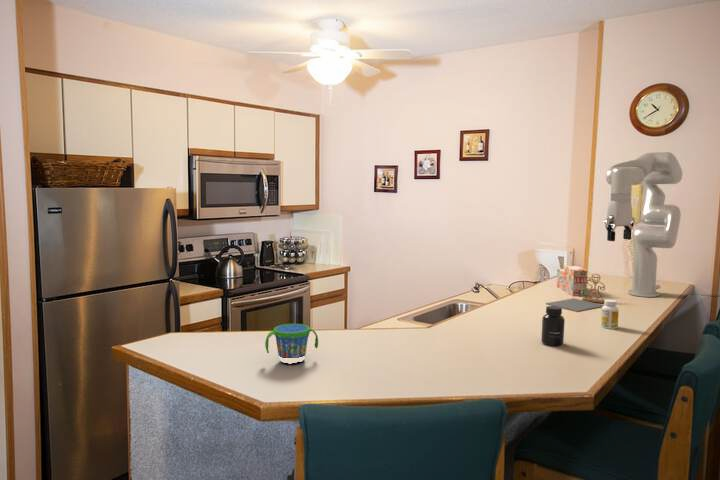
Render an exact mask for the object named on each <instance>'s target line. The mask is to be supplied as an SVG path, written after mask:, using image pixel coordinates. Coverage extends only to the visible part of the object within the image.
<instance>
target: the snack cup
mask: <svg viewBox="0 0 720 480" xmlns="http://www.w3.org/2000/svg"><path fill="white" fill-rule="evenodd" d="M310 332H312V333H313V335H315V339H314V348H315V349H318V347H319V337H318V334H317V332H316V331H315V330H314V329H312V327H310V326H308V325H307V324H302V323H287V324H286V323H284V324H280V325H278V326H275V327H274V328H273V330H271V331H270V332H269V333H268V334H267V336H266V339H265V341H264V345H265V349H266V352H267V354H269V353H270V351H269V343H270V342H269V339H270V338H271V337H272V336H273V335H274V337H275V341H276V349H277V354H278V357H279V356H280V357H282V358H299V357H303V356H305V355H307V349H308V348H307V347H308V339H309V336H310ZM305 357H306V356H305Z"/></svg>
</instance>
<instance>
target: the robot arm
mask: <svg viewBox="0 0 720 480" xmlns="http://www.w3.org/2000/svg"><path fill="white" fill-rule="evenodd" d="M682 179H683V169H682V167H681V165H680V163H679V161H678V159H677V157H676V156H675V154H673V153H672V152H670V151H663V152H662V151H658V152H646V153H643V154H642V155H640V156H638V157H637V158H635V159H630V160H628V161H624V162H619V163H615V164H614V165H612V166H611V167H609V168H608V169H607V172H606V173H605V181H606V183H607V184H608V185H609V186H610V201H609V202H608V206H607V212H606V219H605V220H604V221H603V223H604V225H605V226H604V227H605V231H606V232H607V233H606V234H607V241H608V242H615V241H616V229H617V228H618V227H623V228H624V229H623V237H622V239H624V240H629V241H631V240H632V243H633V263H632V264H633V265H632V286H631V287H632V288H631V289H628V291H627V292H628V294H629V295H632V296H635V297H642V298H657V297H659V296H660V292H658V291H657V290H659V289H660V288H661V285H660V284H657V269H658V256H657V253H656V252H655V250H654V249H655V248H658V249H672V248H674V247H675V245H676V242H677V240H678V239H677V238H678V234H679V227H680V223H681V222H680V221H681V215H682V214H681V209H680V207H678V206H677V205H675V204H665V201H666V194H665V192H664V191H663V189H662V188H661V187H660V186H658V185H676V184H678V183H681V181H682ZM638 185H641V186H642V187H641V188H642V190H643V193H644V194H643V201H642V206H641V211H640V222H641V223H642V224H644V225H639V226H637V227H635V228H634V229H633V227H634V225H635V221H636V218H635V217H634V216H633V204H632V187H633V186H638ZM632 230H633V231H632Z"/></svg>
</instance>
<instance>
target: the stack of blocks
mask: <svg viewBox="0 0 720 480" xmlns="http://www.w3.org/2000/svg"><path fill="white" fill-rule="evenodd" d="M556 272H557V273H556V274H557V276H556V277H557V280H556V281H557V283H556V287H557V288H559V289H560V290H561V291H563V292H565V293H567V294H568V295H570V296H571V297H586V296H587V286H588V284H587V282H588V281H587V282H586V278H587V277H588V269H586V268H583V267H581V266H579V265H564V267H563V268H557V269H556ZM587 279H588V278H587Z"/></svg>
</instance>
